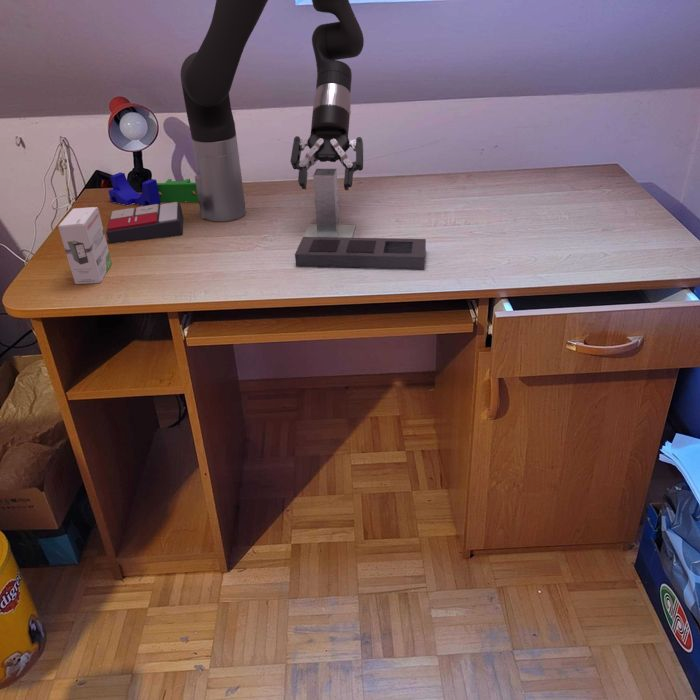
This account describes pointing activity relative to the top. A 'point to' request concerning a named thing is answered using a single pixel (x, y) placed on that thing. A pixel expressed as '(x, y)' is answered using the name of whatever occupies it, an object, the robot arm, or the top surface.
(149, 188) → the cable clip
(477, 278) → the top surface
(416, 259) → the dark grey slotted tray
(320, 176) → the steel plug
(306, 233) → the mat
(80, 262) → the ink box
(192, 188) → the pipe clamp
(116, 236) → the red grey box
